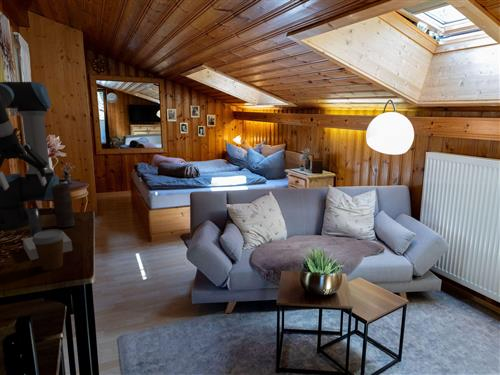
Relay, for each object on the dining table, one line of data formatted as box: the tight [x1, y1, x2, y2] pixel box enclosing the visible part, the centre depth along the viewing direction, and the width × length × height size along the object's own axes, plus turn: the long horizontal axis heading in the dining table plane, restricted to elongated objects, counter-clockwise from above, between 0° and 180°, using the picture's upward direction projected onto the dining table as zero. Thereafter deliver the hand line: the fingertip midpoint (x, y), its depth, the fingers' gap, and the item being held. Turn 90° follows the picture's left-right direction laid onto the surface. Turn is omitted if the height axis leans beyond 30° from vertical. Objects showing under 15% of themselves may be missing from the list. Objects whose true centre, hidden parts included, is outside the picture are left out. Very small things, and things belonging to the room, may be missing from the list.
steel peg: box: [27, 207, 43, 237], centre depth 148 cm, size 4×4×13 cm
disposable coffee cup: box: [32, 229, 64, 271], centre depth 122 cm, size 10×10×12 cm
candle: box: [52, 183, 76, 228], centre depth 162 cm, size 8×7×20 cm
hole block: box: [22, 230, 73, 261], centre depth 138 cm, size 14×14×4 cm
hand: (25, 186), depth 134 cm, fingers open, 13 cm apart
